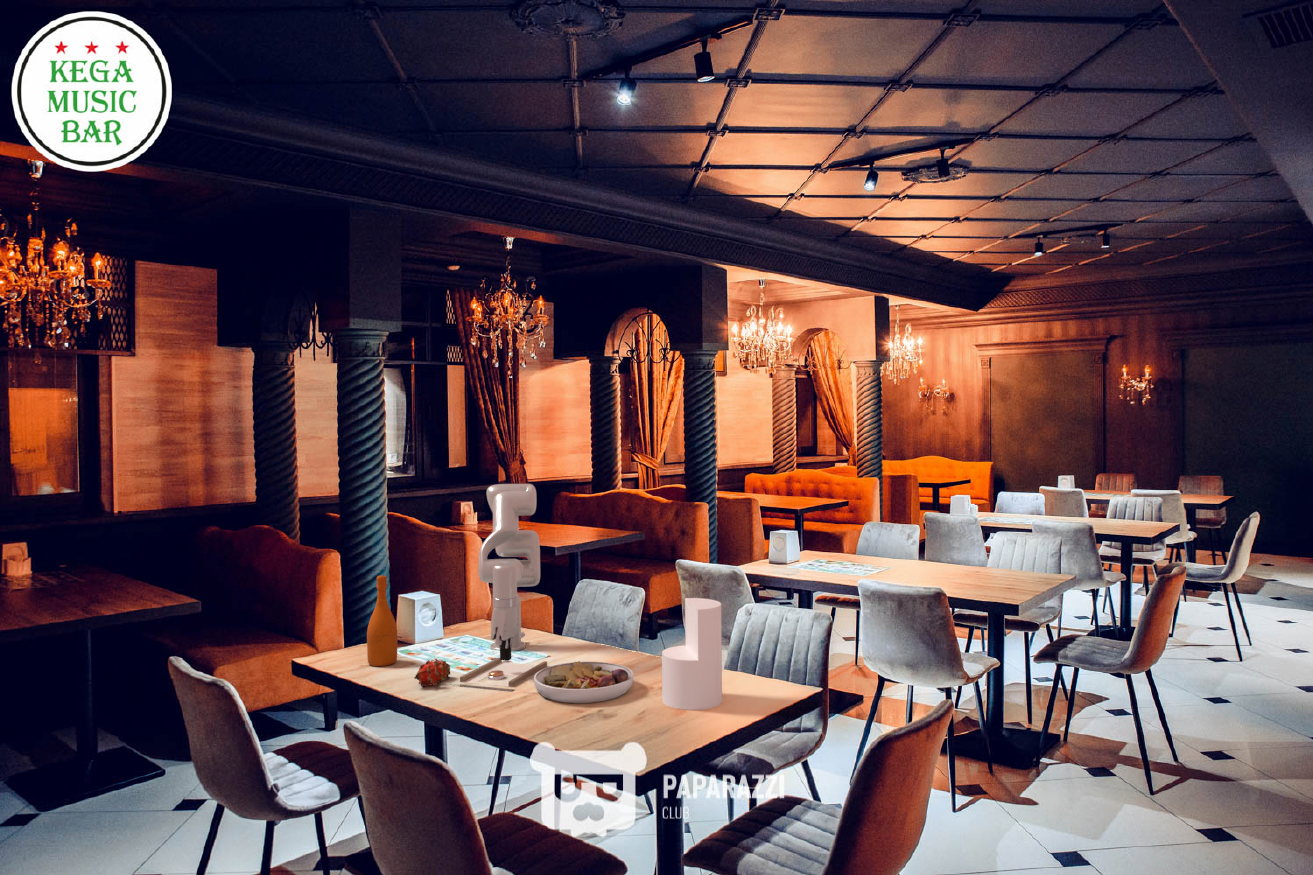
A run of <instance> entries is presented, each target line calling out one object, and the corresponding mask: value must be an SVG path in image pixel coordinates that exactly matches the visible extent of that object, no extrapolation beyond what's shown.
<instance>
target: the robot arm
mask: <svg viewBox="0 0 1313 875" xmlns="http://www.w3.org/2000/svg"><path fill="white" fill-rule="evenodd" d="M486 499H487V502H488V505H489V508H490V510H491V513H492V532H491V533H490V534H489V535H488V536H487V538H485V540H484V541H483V542H482V544H481V546H480V548H479V552H478V567H477V568H478V573H477V574H478V577H479V579H480V581H481V582H482V583H485V584H486V583H488V584H489V583H490V584H492V611H491V612H492V613H491V620H490V621H491V622H490V638H491V640H492V641H494V643H493V642H492V643H491V644H490V646H489V647H490V650H492V651H499V658H500V660H502V661H507V662H509V661H511V660H512V652H517V651H521V650H523V649H525V647H526V643H525V641H524V642H523V641H522V638H524V637H525V636H526V633H525V632H524V631H522V614H521V613H522V606H521V605H522V602H521V596H520V595H519V593H518V588H519V587H524V588H525V587H535V586H537V585H539V583H540V580H541V548H540V546H541V544H540V537H539V534H538V533H537V532H536V531H535V530H529V529H523V530H522V529H521V530H520V529H519V520H520V519H519V516H532V515H534V514H535V513H536V510H537V490H536V487H535V486H534V485H533V484H532V483H499V484H493V485H492V484H491V485H490V486H488V488H486ZM493 549H495V553H496V555H498V557H503V558H493V559H490V558H489V559H488V555H490V553H491V552H492V550H493ZM510 557H511V558H510ZM514 557H517V558H518V557H519V558H520V557H524V558H526V559H522V560H521V559H517V558H514Z"/></svg>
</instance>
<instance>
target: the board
mask: <svg viewBox="0 0 1313 875" xmlns="http://www.w3.org/2000/svg"><path fill="white" fill-rule="evenodd" d="M547 667H548V661H542V662H540V663H538V664H526V663H515V662H504V661H503V660H500V656H499V657H497V658H495V659H492V660H491V661H489V662H487V663H485V664H483V665H480V666H479V667H477V668H474V669H473V670H471V671H469V672H467V673H465V674H463V675H461V676H459V683H461V684H459V687H460V688H468V689H469V688H470V689H478V690H479V689H480V690H489V691H499V692H509V693H510V692H511V693H512V692H514V691H516V689H512V688H514V687H515V686H517V685H519V684H520V683H522V682H523V681H525V680H527V679H529V678H530V677H532V676H534V675H535V674H536V673H537V672H538V671H540V670H542V669H544V668H547ZM495 670H500V671H503V674H504V676H505V677H506V676H507V677H508V676H509V677H510V678H508V679H506V680H505V681H502V682H501V683H491V682H483V681H482V682H481V680H483V679H486V678H488V675H489V672H490V671H495ZM462 683H467V684H462ZM470 684H471V685H470ZM472 684H477V685H472ZM482 685H487V686H482ZM491 686H493V687H491ZM494 686H497V687H494ZM498 686H499V687H498ZM502 687H507V688H502Z"/></svg>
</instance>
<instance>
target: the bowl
mask: <svg viewBox="0 0 1313 875" xmlns="http://www.w3.org/2000/svg"><path fill="white" fill-rule="evenodd" d="M634 675H635V674H634V671H633V670H632V669H630V667H627V666H624V665H621V664H618V663H611V662H603V661H579V660H578V661H574V662H567V663H561V664H560V663H559V664H554V665H551V666H547V667H545V668H544V669H542V670H540V671H538V672H537V673H535V674H534V675H533V684H534V687H535V690H536V691H537V692H538V693H539V694H540V695H541V696H543V697H544V698H546V699H548V700H550V701H551V700H552V701H555V702H558V703H559V702H560V703H567V704H593V703H601V702H605V701H609V700H613V699H615V698H619V697H620V696H623V695H624V694H625V693H627V692H628V691H629V689H630V688H631V687H632V686H633V683H634Z"/></svg>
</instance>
